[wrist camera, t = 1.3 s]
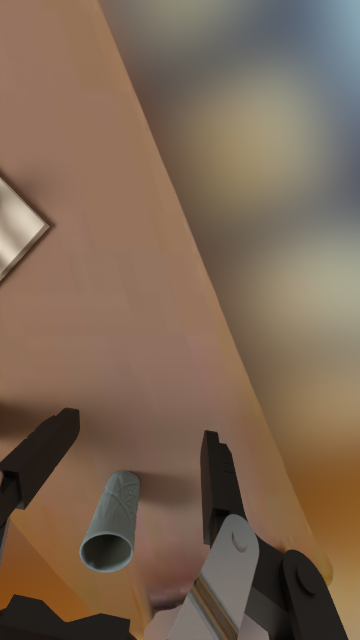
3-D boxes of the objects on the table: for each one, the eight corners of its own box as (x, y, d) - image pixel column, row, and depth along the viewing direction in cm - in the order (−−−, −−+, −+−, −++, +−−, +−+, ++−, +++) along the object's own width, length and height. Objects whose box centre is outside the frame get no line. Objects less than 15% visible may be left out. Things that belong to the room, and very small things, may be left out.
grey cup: (98, 490, 44) (70, 563, 32) (115, 461, 43) (92, 526, 31) (133, 503, 45) (118, 579, 34) (150, 476, 44) (141, 544, 32)
